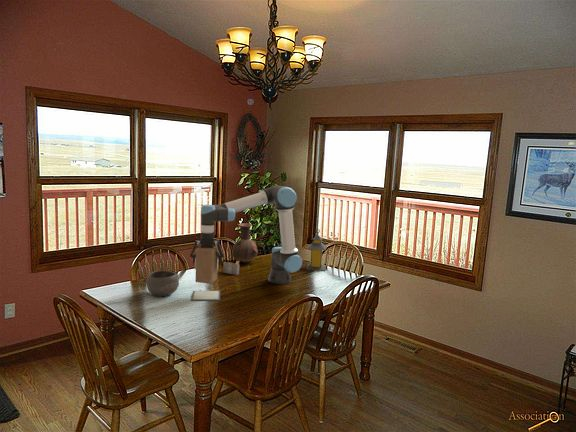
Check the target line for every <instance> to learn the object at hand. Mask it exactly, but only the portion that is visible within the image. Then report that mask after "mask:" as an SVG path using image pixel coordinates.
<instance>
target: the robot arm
mask: <svg viewBox="0 0 576 432" xmlns="http://www.w3.org/2000/svg"><path fill="white" fill-rule="evenodd" d="M296 202H297V194H296V192H295V190H293V188H291V187H288V186H282V185H275V186H274V185H273V186H271V187H267V188H264V189H262V190H260V192H257V193H254V194H251V195H248V196H244V197H241V198H238V199H234V200H231V201H228V202H224V203H221V204H203V205H201V210H200V240H197V239H196V240H195V241H194V245H193V248H192V249H191V252H190V254H189V257H190V258H192V263H193V264H194V270H196V249H197V246H198V245H199V244H200V246H199V247H200V248H214V244H215V246H216V245H217V246H216V247H218V252H217V251H216V255H217V271H218V270H219V264H221V259H222V258H224V257H225V255H224V253H223V250H222V248H221V245H220V240H215V222H217V223H218V222H233V221H235V218H236V213H240V212H242V211H245V210H249V209H251V208H254V207H258V206H261V205H266V206H267V205H270V204H275V206H274V207H275V210H276V211H277V212H278V218H279V219H278V221H279V229H280V230H279V231H280V243H281V246H275V247H272V249H271V267H270V272H269V274H268V280H267V281H268V282H269V283H271V284H277V285H284V284H285V285H286V284H290V283H291V281H292V277H291V274H290V273H296V272H298V271H299V270H300V269H301V268H302V265H303V259H302V257H301V256H300V255H299V249H298V248H297V247H296V240H295V227H294V217H293V216H294V215H293V210H294V209H295V204H296Z"/></svg>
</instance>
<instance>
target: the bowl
mask: <svg viewBox="0 0 576 432" xmlns="http://www.w3.org/2000/svg"><path fill="white" fill-rule="evenodd" d="M179 285H180V282H179V277H178V274H177V273H176V272H175V271H172V270H162V269H161V270H156V271H152V272H150V273H149V274H148V276H147V278H146V288H147V290H148V291H149V293H151V294H152V295H153V296H156V297H166V296H170V295H171V294H173V293H174V292H176V290H177V289H178V288H179Z"/></svg>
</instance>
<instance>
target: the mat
mask: <svg viewBox="0 0 576 432" xmlns="http://www.w3.org/2000/svg"><path fill="white" fill-rule="evenodd" d="M190 300H191V302H208V301H209V302H221V290H193V291H192V296H191V299H190Z"/></svg>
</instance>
